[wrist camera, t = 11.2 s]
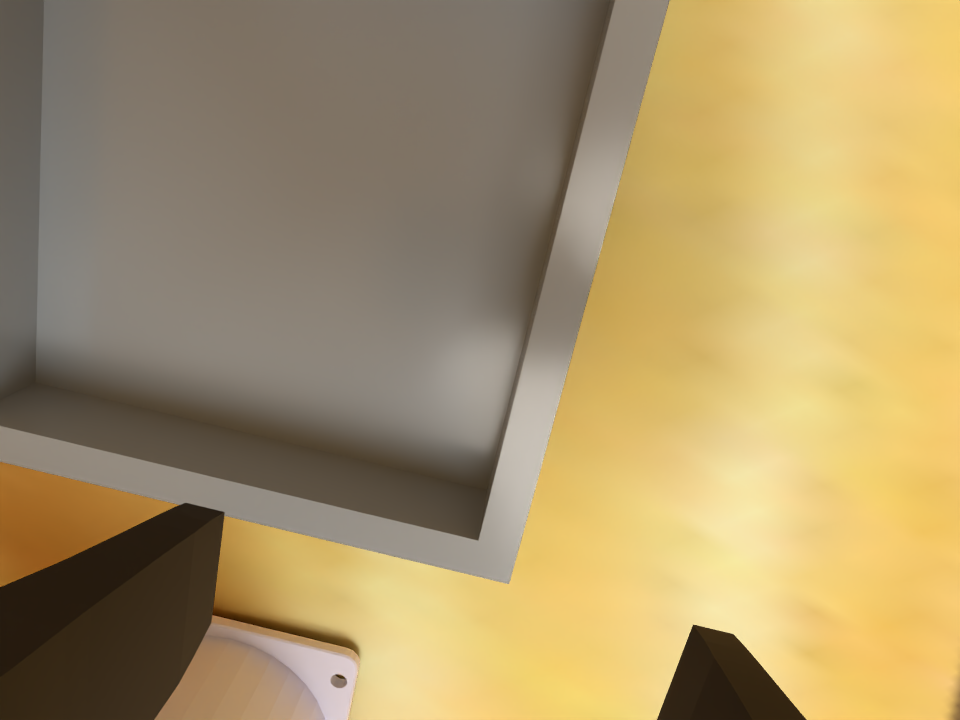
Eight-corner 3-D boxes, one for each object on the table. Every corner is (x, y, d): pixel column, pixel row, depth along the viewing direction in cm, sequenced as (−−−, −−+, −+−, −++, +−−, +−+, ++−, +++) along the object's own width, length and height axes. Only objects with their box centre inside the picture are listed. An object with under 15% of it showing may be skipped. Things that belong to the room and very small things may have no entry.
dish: (514, 521, 21) (509, 583, 18) (10, 401, 21) (-73, 444, 18) (668, -55, 16) (695, -93, 13) (16, -204, 16) (-95, -273, 14)
